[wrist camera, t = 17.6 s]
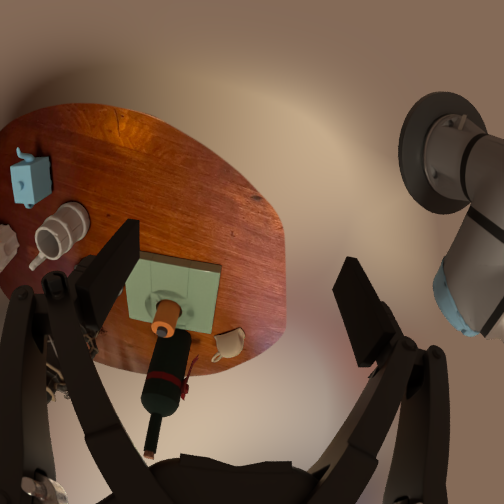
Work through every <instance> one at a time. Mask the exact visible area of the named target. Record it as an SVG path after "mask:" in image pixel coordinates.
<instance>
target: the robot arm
mask: <svg viewBox="0 0 504 504" xmlns="http://www.w3.org/2000/svg"><path fill="white" fill-rule="evenodd" d="M466 117H467V115H463V116H460V115H456V114H444V115H442V116H440V117H438V118H437V119H435V120H434V121H433V122H432V123H431V125H430V126H429V128H428V129H427V131H426V134H425V136H424V139H423V143H422V149H421V162H422V169H423V172H424V175H425V178H426V180H427V182H428V183H429V185H430V186H431V187H432V188H433V189H434V190H435V191H436V192H438V193H439V194H441V195H442V196H444V197H447V198H450V199H456V200H463V201H470V202H471V205H470V207H469V210H468V212H467V214H466V216H465V218H464V220H463V223H462V225H461V227H460V229H459V231H458V233H457V236H456V237H455V240H454V242H453V243H452V245H451V247H450V249H449V251H448V253H447V255H446V256H445V257H444V258H443V260H442V262H441V266H440V268H439V270H438V272H437V274H436V276H435V278H434V281H433V291H434V297H435V300H436V302H437V304H438V306H439V308H440V310H441V312H442V313H443V315H444V316H445V317H446V319H447V320H448V321H449V322H450V323H451V325H452V326H453V327H454V328H456V329H457V330H458V331H460V330H461V332H462V333H463V334H464V335H466V336H470V337H472V336H475V335H478V334H479V333H481V334H482V335H483V336H484V337H485V338H486V339H501V340H502V342H503V343H504V139H501V138H498V137H495V136H492V135H489V134H486V133H485V132H484V131H483V130H482V129H480V128H479V127H478V126H477V125H475V124H474V123H473V122H472V121H470V120H469V119H467V118H466ZM139 259H140V245H139V220H135V219H127V220H126V222H125V223H124V224H123V225H122V226H121V227H120V228H119V229H118V231H117V232H116V233H115V234H114V235H113V236H112V238H111V239H110V240H109V241H108V242H107V243H106V245H105V246H104V247H103V248H102V249H101V251H100V252H99V253H98V254H97V256H94V255H88V256H87V257H85V258H84V259H82V260H81V262H80V263H79V264H78V266H76V268H75V269H74V271H72V273H71V274H70V275H69V276H68V278H67V276H66V274H65V273H63V272H62V271H52V272H50V273H48V274H46V275H45V276H44V277H43V278H42V281H41V284H42V288H43V291H44V294H34V291H33V289H32V287H30V286H28V285H23V286H20V287H18V288H16V289H15V290H14V291H13V293H12V295H11V298H10V302H9V306H8V310H7V314H6V318H5V323H4V327H3V333H2V337H1V342H0V504H68V499H67V495H66V493H65V490H64V489H63V488H62V486H61V485H60V484H58V483H57V482H56V472H55V464H54V457H53V452H52V445H51V438H50V431H49V422H48V410H47V391H46V356H47V337H48V335H53V340H54V344H55V348H56V352H57V356H58V360H59V364H60V367H61V371H62V374H63V377H64V381H65V384H66V387H67V390H68V393H69V396H70V399H71V401H72V404H73V407H74V409H75V412H76V415H77V417H78V419H79V422H80V424H81V427H82V429H83V431H84V434H85V441H86V444H87V446H88V449H89V451H90V452H91V455H92V457H93V459H94V461H95V463H96V464H97V466H98V468H99V470H100V472H101V473H102V475H103V477H104V479H105V480H106V482H107V484H108V485H109V487H110V489H111V491H112V492H113V493H112V494H110V495H109V496H107V497H106V498H104V499H103V500H101V501H100V502H98V503H96V504H355V503H356V502H357V500H358V499H359V497H360V495H361V494H362V492H363V490H364V489H365V487H366V485H367V484H368V482H369V480H370V479H371V477H372V475H373V473H374V471H375V469H376V467H377V465H378V460H377V459H376V456H377V453H378V452H379V450H380V448H381V446H382V443H383V442H384V440H385V437H386V435H387V433H388V431H389V429H390V426H391V424H392V422H393V420H394V417H395V415H396V413H397V410H398V407H399V405H400V403H401V408H400V416H399V424H398V431H397V437H396V442H395V448H394V453H393V458H392V463H391V468H390V471H389V476H388V480H387V484H386V487H385V492H384V497H383V504H448V499H447V490H446V477H447V469H448V468H447V467H448V457H449V441H450V403H449V402H450V401H449V383H448V373H447V362H446V356H445V353H444V352H443V350H442V349H441V348H440V347H438V346H435V345H432V346H430V347H429V348H428V349H427V351H425V350H422V349H418V347H417V345H416V343H415V342H414V341H413V340H412V339H411V338H409V337H407V336H404V335H403V333H402V331H401V329H400V327H399V325H398V323H397V321H396V320H395V317H394V316H393V313H392V311H391V310H390V308H389V307H388V306H387V304H386V303H385V302H383V301H380V299H379V297H378V296H377V294H376V292H375V290H374V288H373V287H372V284H371V283H370V281H369V279H368V277H367V275H366V274H365V272H364V270H363V268H362V267H361V265H360V263H359V261H358V260H357V258H353V257H346V259H345V262H344V264H343V266H342V269H341V271H340V273H339V275H338V278H337V280H336V283H335V284H334V287H333V289H332V290H333V293H334V296H335V299H336V301H337V304H338V307H339V310H340V313H341V316H342V318H343V322H344V325H345V327H346V330H347V333H348V336H349V339H350V342H351V345H352V349H353V352H354V355H355V358H356V361H357V364H358V367H371V365H372V364H373V363H374V362H375V360H376V362H377V365H378V366H377V367H376V369H375V370H374V371H373V372H372V373H371V374H370V376H369V377H368V378H370V379H369V381H368V383H367V385H366V387H365V388H364V390H363V392H362V394H361V396H360V397H359V399H358V401H357V403H356V404H355V406H354V408H353V409H352V411H351V413H350V414H349V416H348V418H347V419H346V421H345V422H344V424H343V425H342V427H341V428H340V430H339V431H338V433H337V434H336V436H335V437H334V439H333V440H332V442H331V443H330V445H329V446H328V448H327V449H326V450H325V452H324V453H323V454H322V456H321V457H320V458H319V460H318V461H317V462H316V463H315V464H314V465H313V466H312V467H311V468H310V469H309V470H308V471H307V472H306V471H304V470H302V469H299V468H296V467H292V461H276V462H274V461H272V462H271V461H265V462H261V463H256V464H250V465H245V466H233V465H230V464H226V463H223V462H220V461H217V460H214V459H211V458H208V457H201V456H194V455H187V454H180V458H172V459H166V460H163V461H160V462H157V463H155V464H153V465H151V466H149V467H148V466H147V465H146V463H145V461H144V460H143V458H142V457H141V455H140V454H139V452H138V451H137V449H136V447H135V446H134V444H133V442H132V441H131V439H130V437H129V435H128V434H127V432H126V430H125V428H124V427H123V425H122V423H121V421H120V419H119V417H118V416H117V413H116V412H115V409H114V408H113V406H112V403H111V402H110V399H109V397H108V395H107V393H106V391H105V388H104V386H103V384H102V382H101V379H100V377H99V375H98V372H97V370H96V367H95V365H94V363H93V360H92V357H91V355H90V352H89V349H88V347H87V344H86V341H85V338H84V335H83V332H82V329H81V326H80V325H81V324H82V322H83V320H84V322H85V325H86V328H89V329H92V330H95V331H100V329H101V327H102V325H103V323H104V321H105V319H106V317H107V315H108V313H109V312H110V310H111V308H112V306H113V304H114V302H115V300H116V299H117V297H118V295H119V293H120V291H121V290H122V288H123V286H124V284H125V282H126V281H127V279H128V277H129V276H130V274H131V272H132V270H133V269H134V267H135V265H136V264H137V262H138V260H139Z"/></svg>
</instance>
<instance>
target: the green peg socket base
mask: <svg viewBox="0 0 504 504" xmlns="http://www.w3.org/2000/svg"><path fill="white" fill-rule="evenodd" d="M221 267H222V266H221V265H216V264H210V263H204V262H198V261H193V260H187V259H181V258H175V257H170V256H164V255H159V254H154V253H148V252H143V251H140V259H139V260H138V262H137V264H136V265H135V267H134V269H133V270H132V272H131V274H130V276H129V277H128V279H127V281H126V282H125V284H126V293H127V302H128V309H129V317H130V318H132V319H137V320H141V321H145V322H150V323H153V320H154V317H155V314H156V312H157V309H158V306H159V304H160V302H159V301H160V300H164V299H168V300H172V301H174V302H176V303H177V304H178V305H179V306H180V307H181V309H182V310H180V313H179V317H178V320H177V324H176V327H175V328H179V329H186V330H191V331H196V332H202V333H208V334H211V331H212V324H213V318H214V311H215V305H216V298H217V292H218V286H219V279H220V273H221Z"/></svg>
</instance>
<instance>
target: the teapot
mask: <svg viewBox="0 0 504 504" xmlns="http://www.w3.org/2000/svg"><path fill="white" fill-rule="evenodd" d="M17 155H18V157H19V158H23V159H25V160H23V161H21V162H19V163H17V164H14V165H12V166H11V167H10V168H11V178H12V186H13V193H14V199H15V203H24V205H25V207H26V208H32V207H33V206H34V204H36V203H37V202H39V201H40V200H42V199H43V198H45V197H46V196H48V195H49V194H51V193H52V191H51V185H52V181H51V180H50V170H49V168H50V165H51V164H50V162H49V157H36V158H35V157H34V156H33V155H32V154H26V153H22V152H21V151H20V150H19V148H17ZM28 204H30V205H28Z"/></svg>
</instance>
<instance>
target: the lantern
mask: <svg viewBox="0 0 504 504" xmlns="http://www.w3.org/2000/svg"><path fill="white" fill-rule="evenodd" d="M80 326H81V329H82V332H83V335H84V338H85V341H86V342H88V344H89V346H90V349H89V352H90V355H91V357H92V360H93V358H94V357H95V355H96V354H97V353H98V352H99V351H98V348H97V345H96V342H95V341H96V340H95V338H96V337H97V335H98V333H99V331H95V330H92V329H89V328H86V325H85V322H84V320H83V322H82V324H81V325H80ZM46 391H47V404H48V403H49V402H50V401H51V400H52V401H56V398H55V395H54V394H55V392H56V391H60V392H62V393H64V394H66V396H67V397H68V396H69V393H68V392H67V393H66V391H68V390H67V387H66V384H65V381H64V377H63V374H62V371H61V367H60V364H59V360H58V356H57V352H56V348H55V344H54V340H53V335H48V337H47V356H46ZM64 391H65V392H64ZM67 397H65V395H64V398H66V399H70V396H69V397H68V398H67Z"/></svg>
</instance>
